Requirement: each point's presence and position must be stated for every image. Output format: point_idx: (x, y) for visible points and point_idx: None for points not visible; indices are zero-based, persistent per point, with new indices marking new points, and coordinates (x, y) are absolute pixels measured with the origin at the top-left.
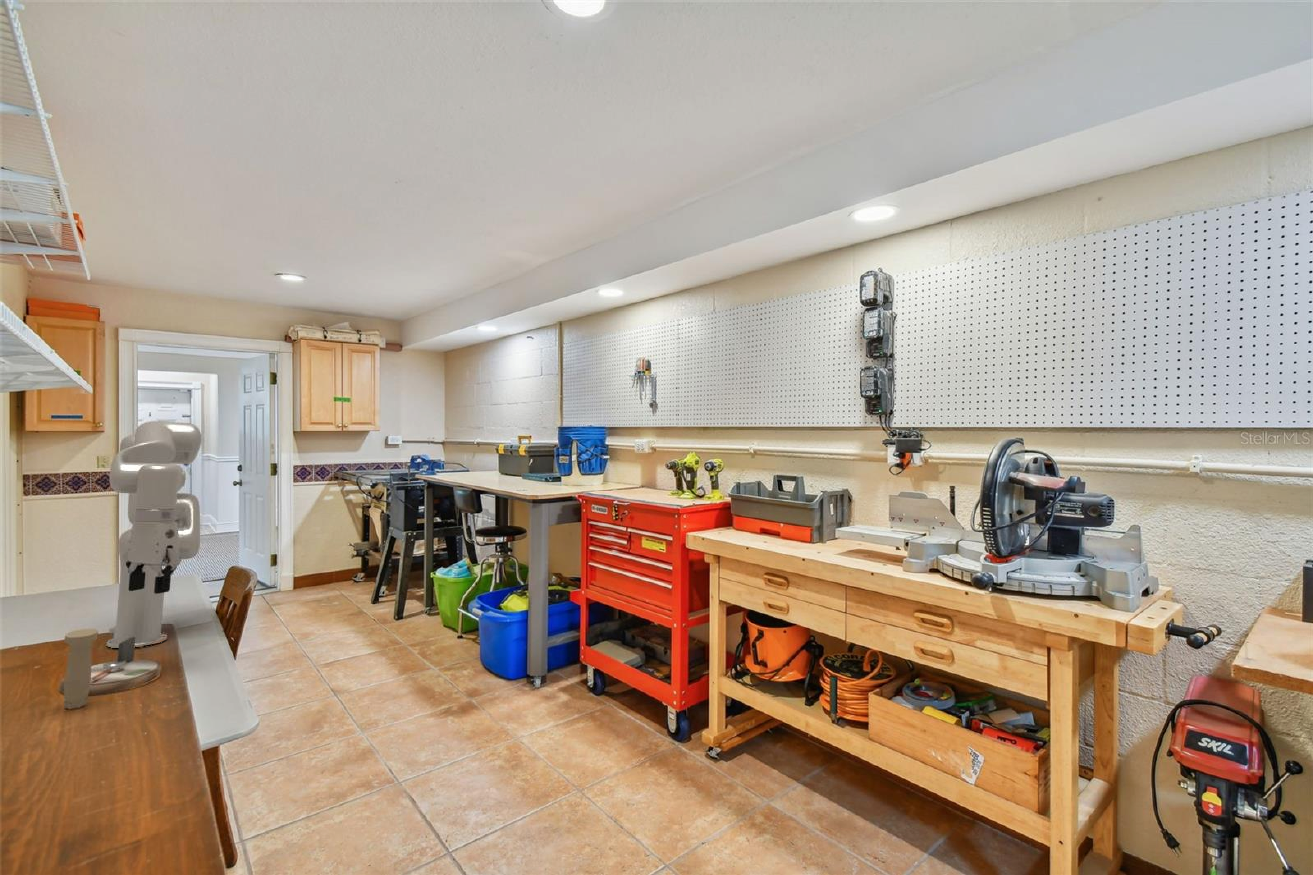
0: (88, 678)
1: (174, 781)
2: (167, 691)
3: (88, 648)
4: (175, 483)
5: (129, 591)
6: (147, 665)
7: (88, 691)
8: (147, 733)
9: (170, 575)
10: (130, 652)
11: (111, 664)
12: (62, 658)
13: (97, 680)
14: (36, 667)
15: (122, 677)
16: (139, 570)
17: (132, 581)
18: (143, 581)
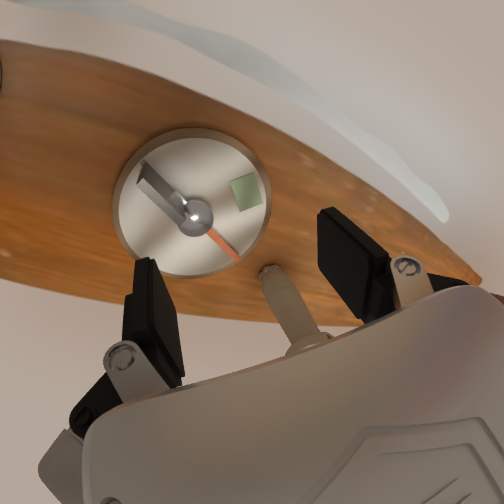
0: (298, 291)
1: (455, 268)
2: (327, 177)
3: (319, 330)
4: None
5: None
6: (215, 159)
7: (286, 275)
8: (404, 252)
9: (385, 253)
10: (157, 180)
11: (199, 226)
12: None
13: (232, 248)
14: (7, 255)
15: (253, 219)
16: (162, 373)
17: (178, 344)
18: (156, 290)
